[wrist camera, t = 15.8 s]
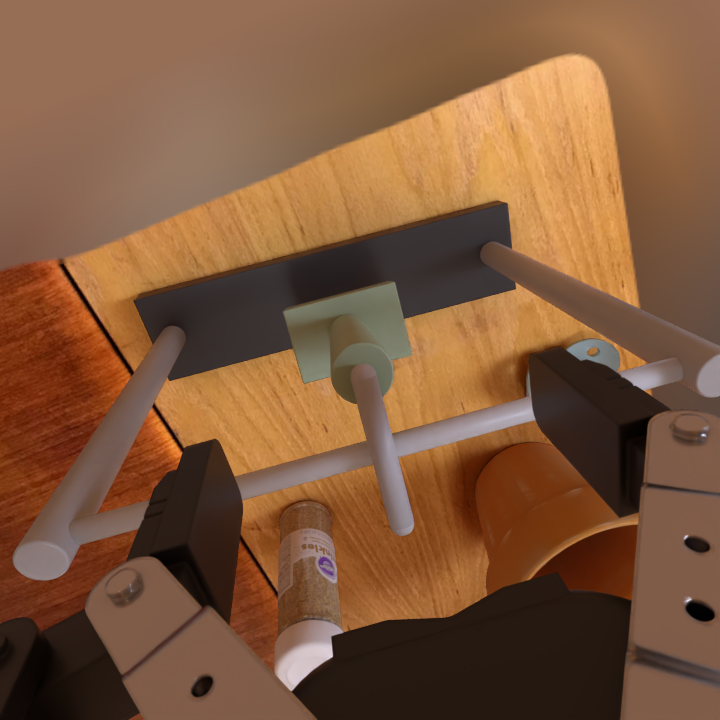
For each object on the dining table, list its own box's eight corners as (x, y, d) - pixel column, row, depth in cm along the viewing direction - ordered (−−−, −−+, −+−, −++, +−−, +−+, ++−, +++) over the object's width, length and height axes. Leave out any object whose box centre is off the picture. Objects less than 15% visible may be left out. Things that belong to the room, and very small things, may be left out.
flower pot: (578, 385, 40) (699, 484, 29) (612, 504, 46) (724, 628, 35) (421, 457, 41) (475, 582, 29) (474, 566, 47) (537, 707, 35)
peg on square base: (321, 424, 30) (315, 565, 16) (287, 306, 29) (246, 340, 14) (416, 398, 30) (497, 515, 16) (387, 280, 29) (447, 287, 14)
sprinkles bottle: (341, 508, 42) (363, 657, 30) (316, 546, 44) (327, 703, 31) (293, 491, 41) (295, 639, 29) (268, 530, 42) (261, 688, 30)
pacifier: (604, 388, 41) (600, 325, 38) (655, 430, 36) (655, 359, 33) (520, 415, 41) (511, 353, 38) (558, 461, 36) (550, 393, 33)
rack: (173, 372, 35) (40, 639, 16) (139, 293, 33) (-66, 500, 14) (507, 283, 36) (754, 440, 17) (499, 200, 34) (776, 274, 15)
